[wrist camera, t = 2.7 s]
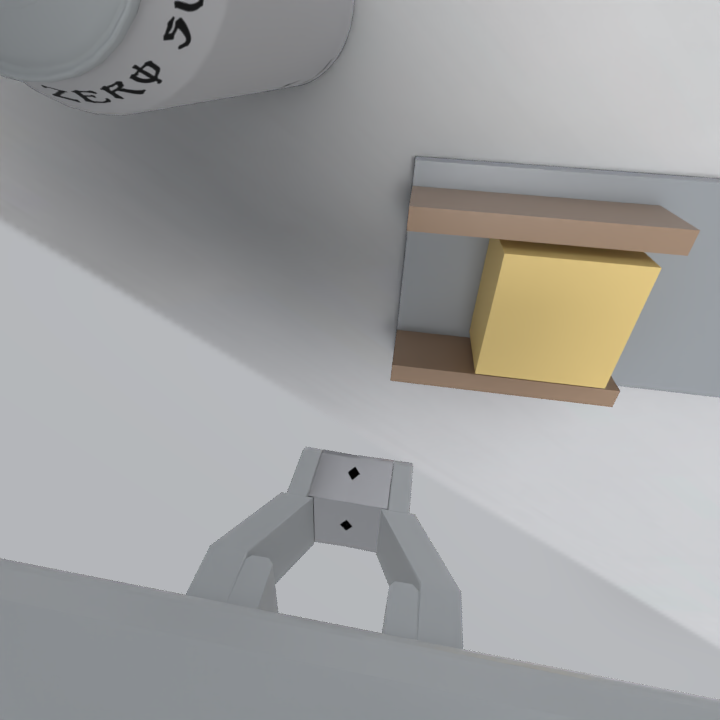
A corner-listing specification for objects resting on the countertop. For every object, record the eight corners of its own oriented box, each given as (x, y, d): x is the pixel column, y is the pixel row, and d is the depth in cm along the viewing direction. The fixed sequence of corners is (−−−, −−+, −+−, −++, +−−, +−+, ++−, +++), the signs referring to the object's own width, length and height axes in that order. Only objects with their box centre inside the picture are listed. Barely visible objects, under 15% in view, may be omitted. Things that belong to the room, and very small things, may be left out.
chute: (394, 350, 27) (388, 396, 23) (415, 156, 20) (412, 176, 17) (741, 390, 25) (794, 446, 21) (881, 190, 19) (991, 222, 15)
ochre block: (469, 331, 24) (475, 373, 21) (493, 223, 21) (504, 253, 17) (580, 343, 24) (604, 388, 20) (624, 234, 20) (661, 267, 17)
